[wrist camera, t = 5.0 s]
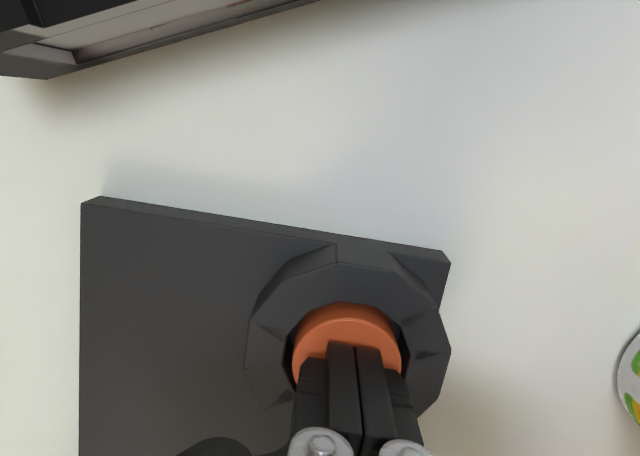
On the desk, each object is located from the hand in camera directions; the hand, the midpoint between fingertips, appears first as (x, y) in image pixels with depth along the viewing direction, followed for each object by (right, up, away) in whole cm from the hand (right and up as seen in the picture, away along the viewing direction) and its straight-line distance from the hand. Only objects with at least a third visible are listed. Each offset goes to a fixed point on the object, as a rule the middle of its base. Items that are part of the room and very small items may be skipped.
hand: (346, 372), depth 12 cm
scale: (-4, -3, +5) cm, 7 cm away
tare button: (0, +1, +2) cm, 2 cm away
